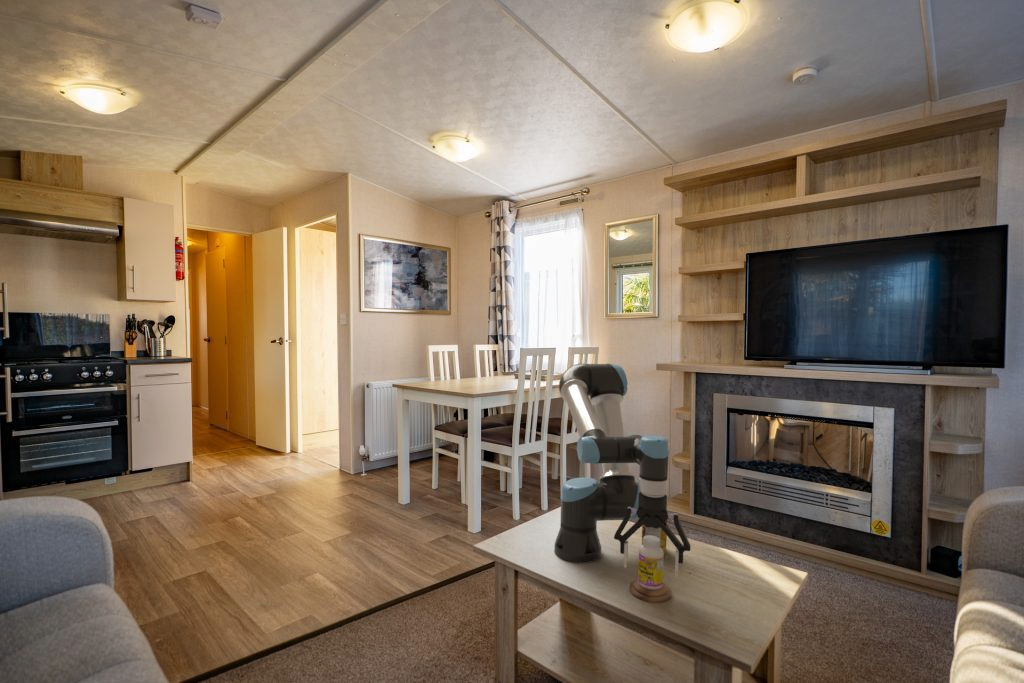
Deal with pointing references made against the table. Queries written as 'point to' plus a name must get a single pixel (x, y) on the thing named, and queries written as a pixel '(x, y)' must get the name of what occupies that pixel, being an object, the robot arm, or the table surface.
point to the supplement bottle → (650, 563)
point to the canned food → (657, 533)
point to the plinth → (650, 592)
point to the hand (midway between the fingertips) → (650, 569)
